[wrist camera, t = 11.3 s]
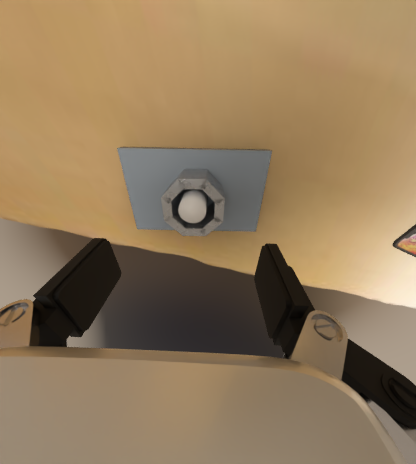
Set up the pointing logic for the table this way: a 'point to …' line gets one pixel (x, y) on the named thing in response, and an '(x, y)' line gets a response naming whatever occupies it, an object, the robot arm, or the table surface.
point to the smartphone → (407, 242)
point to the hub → (213, 211)
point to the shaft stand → (195, 200)
